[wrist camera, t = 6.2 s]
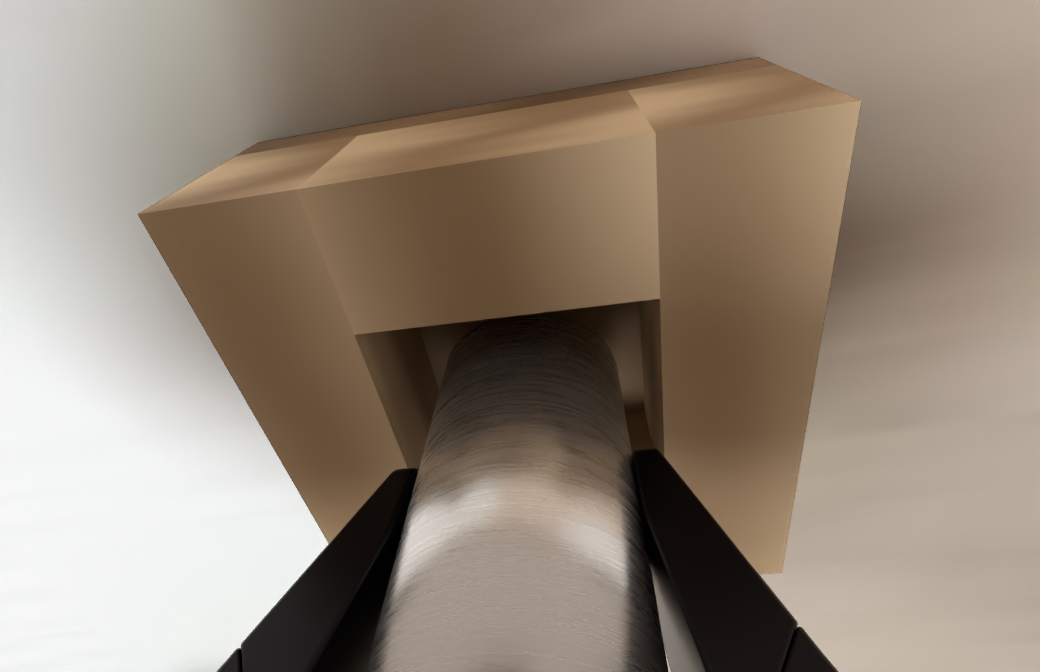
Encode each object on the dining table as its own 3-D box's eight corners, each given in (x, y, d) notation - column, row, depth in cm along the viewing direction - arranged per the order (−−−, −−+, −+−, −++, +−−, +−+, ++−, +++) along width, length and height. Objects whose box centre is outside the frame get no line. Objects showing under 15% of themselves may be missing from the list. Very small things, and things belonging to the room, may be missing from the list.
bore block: (758, 57, 10) (861, 100, 7) (731, 443, 15) (781, 572, 12) (258, 142, 11) (138, 214, 8) (396, 471, 17) (358, 595, 13)
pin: (612, 298, 10) (730, 921, 3) (623, 437, 12) (712, 1007, 5) (426, 320, 11) (215, 907, 4) (466, 451, 13) (370, 988, 6)
